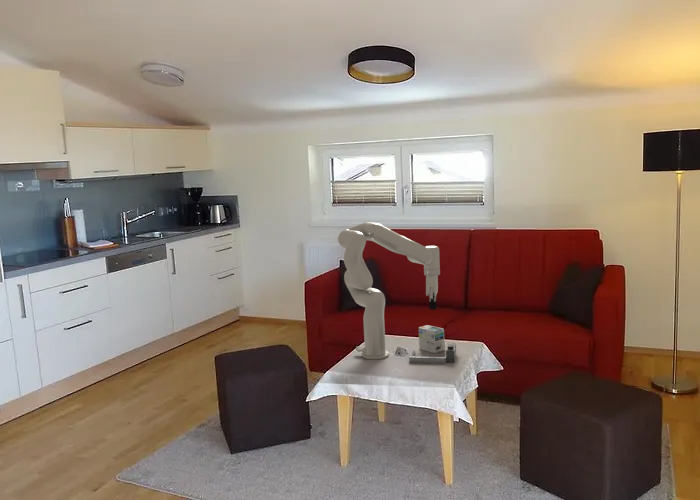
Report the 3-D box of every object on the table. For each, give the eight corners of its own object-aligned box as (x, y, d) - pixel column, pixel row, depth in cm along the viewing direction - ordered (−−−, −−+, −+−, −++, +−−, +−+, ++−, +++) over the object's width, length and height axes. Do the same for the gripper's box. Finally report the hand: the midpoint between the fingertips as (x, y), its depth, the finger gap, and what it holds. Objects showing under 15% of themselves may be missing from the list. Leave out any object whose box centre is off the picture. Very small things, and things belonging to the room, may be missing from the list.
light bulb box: (445, 350, 291) (444, 328, 289) (435, 353, 286) (434, 331, 285) (428, 346, 299) (427, 324, 297) (418, 349, 295) (417, 327, 293)
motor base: (409, 362, 276) (408, 348, 275) (413, 351, 291) (413, 338, 290) (454, 363, 271) (453, 349, 270) (456, 352, 286) (456, 338, 285)
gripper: (426, 268, 307) (427, 305, 309) (422, 274, 292) (423, 312, 294) (441, 268, 305) (442, 305, 307) (438, 274, 290) (439, 312, 292)
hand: (433, 308), depth 301 cm, fingers closed
